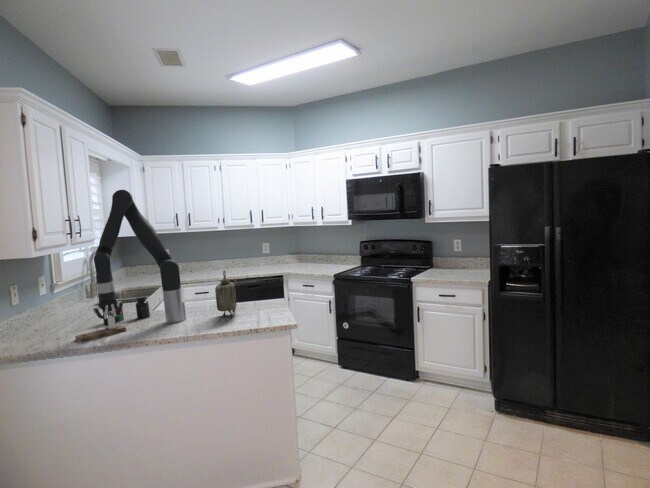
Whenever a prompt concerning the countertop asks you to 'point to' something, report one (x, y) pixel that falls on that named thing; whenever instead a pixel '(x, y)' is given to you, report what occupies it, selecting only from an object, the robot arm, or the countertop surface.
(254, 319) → the countertop surface
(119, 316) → the canned tomato
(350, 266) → the countertop surface
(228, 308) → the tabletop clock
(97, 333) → the board
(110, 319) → the fader
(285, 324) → the countertop surface
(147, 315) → the supplement bottle
